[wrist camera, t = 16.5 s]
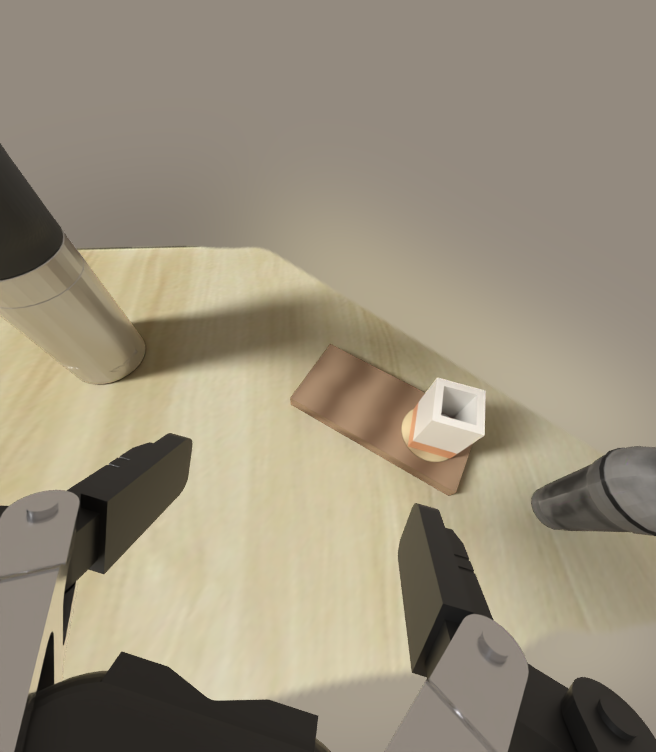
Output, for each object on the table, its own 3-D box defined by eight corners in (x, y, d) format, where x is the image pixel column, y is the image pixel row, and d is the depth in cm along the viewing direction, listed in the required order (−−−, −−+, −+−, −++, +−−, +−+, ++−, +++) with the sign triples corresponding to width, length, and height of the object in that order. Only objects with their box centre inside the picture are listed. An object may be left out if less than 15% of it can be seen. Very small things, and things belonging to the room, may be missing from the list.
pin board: (290, 404, 40) (288, 378, 35) (329, 351, 45) (332, 321, 39) (448, 495, 36) (476, 483, 30) (472, 426, 41) (501, 404, 35)
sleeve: (449, 458, 36) (484, 435, 29) (407, 446, 36) (432, 420, 29) (452, 420, 38) (485, 390, 31) (413, 409, 39) (437, 377, 32)
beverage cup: (537, 464, 39) (725, 389, 21) (593, 510, 36) (855, 468, 19) (507, 505, 36) (695, 458, 19) (566, 559, 33) (845, 562, 16)
